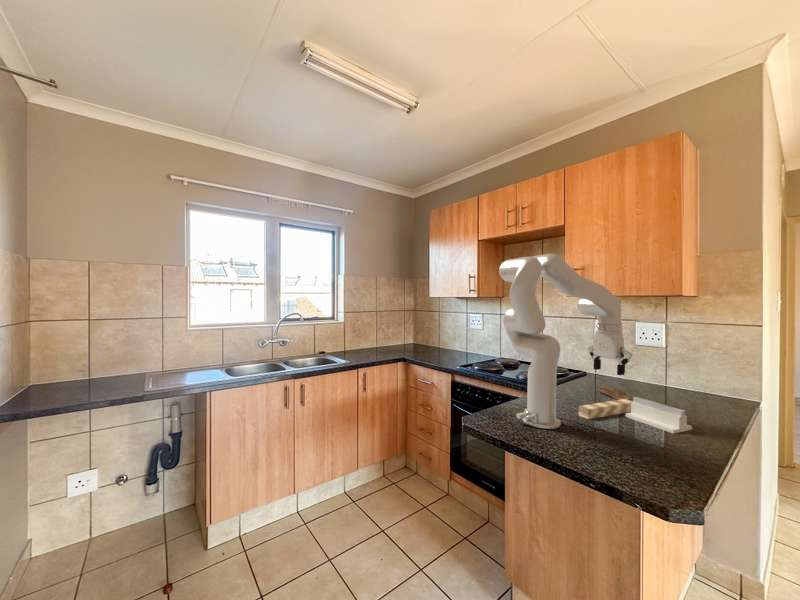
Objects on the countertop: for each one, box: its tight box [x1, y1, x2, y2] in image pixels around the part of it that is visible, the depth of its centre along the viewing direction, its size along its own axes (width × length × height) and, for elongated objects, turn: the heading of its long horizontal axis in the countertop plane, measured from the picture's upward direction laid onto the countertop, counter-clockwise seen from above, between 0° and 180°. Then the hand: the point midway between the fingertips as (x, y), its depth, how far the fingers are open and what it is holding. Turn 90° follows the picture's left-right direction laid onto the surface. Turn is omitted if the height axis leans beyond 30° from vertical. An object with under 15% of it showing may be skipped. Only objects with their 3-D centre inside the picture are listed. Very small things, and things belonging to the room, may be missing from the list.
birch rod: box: [578, 399, 633, 420], centre depth 127 cm, size 26×4×4 cm, turn 111°
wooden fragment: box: [599, 385, 633, 401], centre depth 155 cm, size 26×11×1 cm, turn 160°
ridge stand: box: [624, 396, 693, 434], centre depth 118 cm, size 10×16×7 cm, turn 20°
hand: (608, 372), depth 127 cm, fingers open, 9 cm apart
